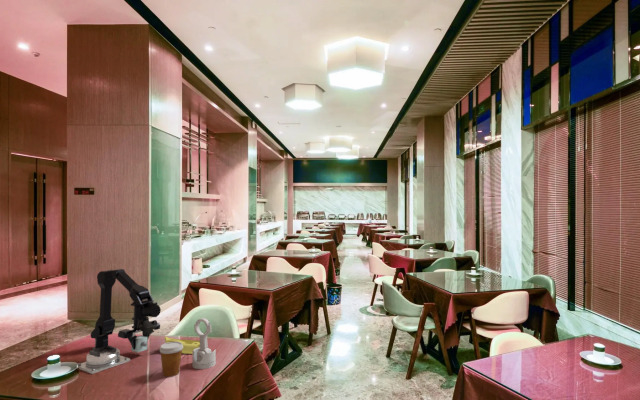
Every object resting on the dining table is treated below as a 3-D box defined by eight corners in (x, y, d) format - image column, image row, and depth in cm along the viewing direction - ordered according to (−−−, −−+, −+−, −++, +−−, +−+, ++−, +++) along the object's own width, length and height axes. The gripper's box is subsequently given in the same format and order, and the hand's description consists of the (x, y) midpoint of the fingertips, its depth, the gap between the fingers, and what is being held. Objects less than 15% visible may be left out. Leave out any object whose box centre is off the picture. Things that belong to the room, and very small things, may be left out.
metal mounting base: (75, 367, 163) (75, 352, 163) (113, 355, 178) (113, 341, 178) (91, 374, 156) (92, 358, 156) (130, 360, 170) (130, 346, 171)
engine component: (204, 370, 159) (220, 362, 168) (205, 322, 160) (220, 317, 169) (186, 366, 164) (202, 358, 173) (186, 320, 165) (202, 314, 174)
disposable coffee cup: (168, 380, 149) (168, 350, 150) (154, 375, 154) (154, 346, 155) (187, 372, 157) (188, 343, 158) (173, 367, 162) (174, 340, 163)
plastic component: (207, 341, 191) (203, 338, 182) (204, 356, 187) (199, 354, 178) (169, 338, 191) (163, 335, 182) (166, 354, 187) (159, 351, 178)
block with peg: (131, 350, 177) (131, 338, 177) (141, 347, 181) (141, 335, 181) (140, 353, 173) (140, 340, 173) (149, 350, 177) (150, 337, 178)
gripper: (131, 322, 166) (130, 357, 166) (167, 313, 182) (166, 345, 181) (117, 318, 172) (116, 352, 171) (153, 310, 188) (152, 341, 187)
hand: (139, 347), depth 178 cm, fingers closed on block with peg, 5 cm apart
